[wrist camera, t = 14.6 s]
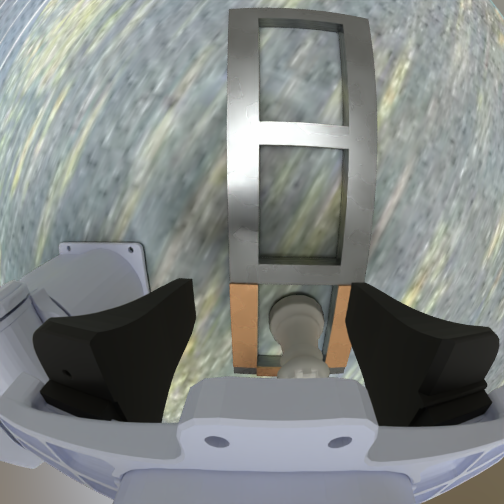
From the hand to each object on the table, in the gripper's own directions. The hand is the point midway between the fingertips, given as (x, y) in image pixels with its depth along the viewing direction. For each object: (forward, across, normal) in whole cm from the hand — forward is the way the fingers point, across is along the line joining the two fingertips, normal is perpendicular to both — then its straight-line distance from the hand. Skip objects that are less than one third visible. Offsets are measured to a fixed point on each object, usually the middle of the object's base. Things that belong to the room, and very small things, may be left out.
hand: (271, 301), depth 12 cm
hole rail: (+8, -2, -3) cm, 9 cm away
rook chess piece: (+9, -2, +6) cm, 11 cm away
